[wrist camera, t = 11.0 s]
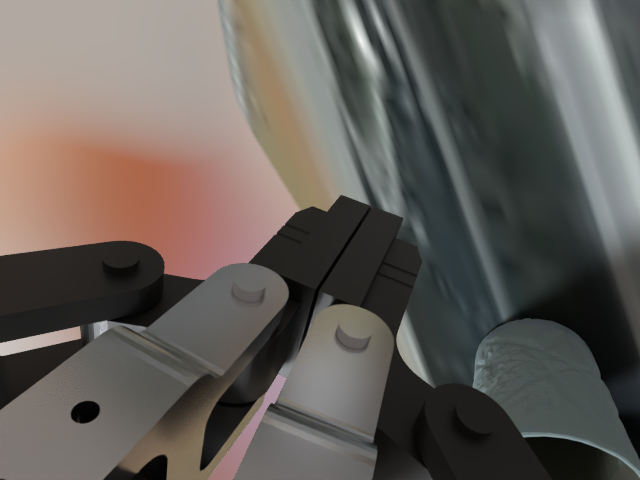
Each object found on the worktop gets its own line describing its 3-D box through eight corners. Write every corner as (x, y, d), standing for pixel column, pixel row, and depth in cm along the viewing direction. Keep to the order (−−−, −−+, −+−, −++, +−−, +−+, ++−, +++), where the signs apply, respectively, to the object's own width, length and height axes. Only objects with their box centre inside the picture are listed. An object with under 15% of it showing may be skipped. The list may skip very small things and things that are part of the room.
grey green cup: (450, 325, 39) (436, 445, 29) (586, 293, 34) (627, 422, 24) (494, 417, 42) (496, 556, 32) (625, 400, 37) (677, 554, 27)
